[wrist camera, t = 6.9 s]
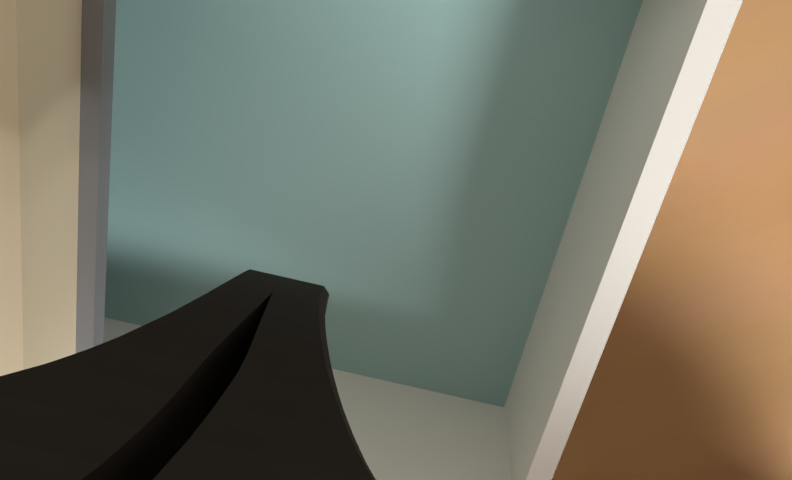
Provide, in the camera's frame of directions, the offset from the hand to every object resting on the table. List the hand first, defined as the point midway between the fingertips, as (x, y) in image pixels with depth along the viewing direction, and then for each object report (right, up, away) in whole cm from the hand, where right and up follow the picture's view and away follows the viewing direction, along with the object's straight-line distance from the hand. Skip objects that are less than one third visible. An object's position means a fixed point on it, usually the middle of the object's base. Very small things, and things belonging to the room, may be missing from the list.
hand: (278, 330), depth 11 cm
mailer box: (-2, +4, +8) cm, 9 cm away
